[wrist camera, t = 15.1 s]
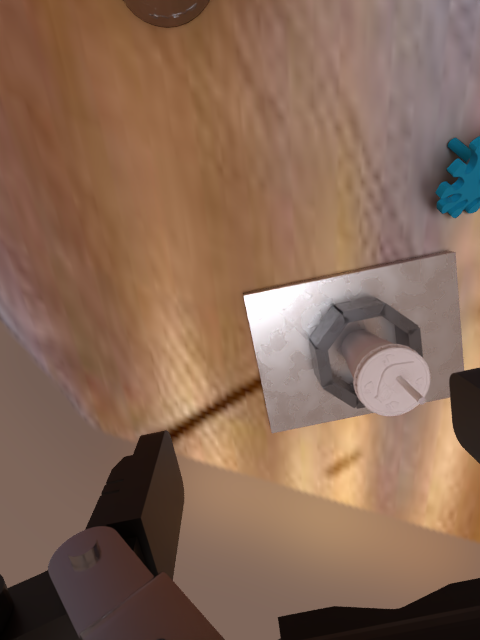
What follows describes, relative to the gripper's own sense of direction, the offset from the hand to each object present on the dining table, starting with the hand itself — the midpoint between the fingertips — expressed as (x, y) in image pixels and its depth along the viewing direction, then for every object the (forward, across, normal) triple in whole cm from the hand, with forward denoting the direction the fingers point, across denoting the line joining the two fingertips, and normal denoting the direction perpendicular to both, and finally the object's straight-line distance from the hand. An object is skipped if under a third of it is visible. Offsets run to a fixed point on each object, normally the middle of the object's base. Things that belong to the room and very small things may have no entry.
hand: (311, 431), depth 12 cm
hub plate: (+33, -10, +10) cm, 36 cm away
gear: (+33, -24, -5) cm, 41 cm away
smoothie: (+32, -10, +10) cm, 35 cm away
